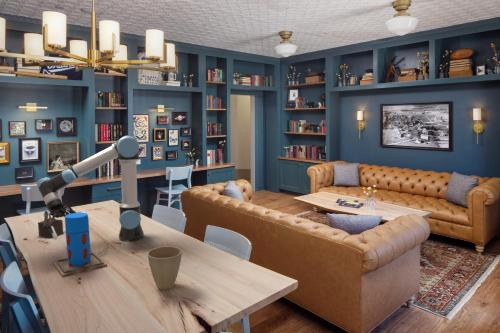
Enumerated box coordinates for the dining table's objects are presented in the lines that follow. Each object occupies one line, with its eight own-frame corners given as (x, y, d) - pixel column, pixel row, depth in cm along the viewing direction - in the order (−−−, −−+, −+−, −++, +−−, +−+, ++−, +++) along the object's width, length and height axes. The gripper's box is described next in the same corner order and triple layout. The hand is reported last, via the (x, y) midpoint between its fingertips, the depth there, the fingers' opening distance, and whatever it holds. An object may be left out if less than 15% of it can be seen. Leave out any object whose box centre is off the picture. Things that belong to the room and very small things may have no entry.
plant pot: (151, 296, 158) (150, 260, 156) (146, 282, 171) (145, 249, 169) (186, 289, 164) (185, 255, 162) (178, 276, 177) (177, 244, 175)
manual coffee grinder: (51, 238, 234) (49, 210, 232) (38, 236, 238) (36, 209, 235) (70, 231, 248) (69, 205, 246) (58, 229, 252) (56, 203, 250)
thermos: (76, 268, 185) (73, 219, 181) (63, 264, 190) (59, 216, 186) (95, 261, 194) (92, 214, 191) (82, 257, 199) (79, 211, 196)
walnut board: (94, 254, 206) (94, 251, 206) (107, 266, 190) (107, 262, 190) (52, 263, 193) (52, 260, 193) (62, 277, 177) (62, 273, 177)
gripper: (74, 202, 214) (89, 232, 207) (27, 211, 195) (42, 244, 188) (78, 194, 210) (94, 225, 203) (30, 202, 191) (46, 236, 184)
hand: (69, 234), depth 195 cm, fingers open, 13 cm apart
